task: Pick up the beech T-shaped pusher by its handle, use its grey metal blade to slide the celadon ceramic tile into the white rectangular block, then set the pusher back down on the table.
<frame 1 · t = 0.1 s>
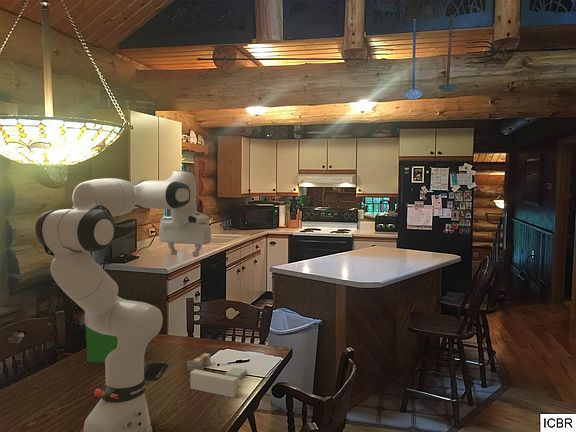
hand: (184, 255, 173), 48 cm above the table, tool pointing down, fingers open, 8 cm apart
tile: (236, 376, 187), on the table
pusher: (197, 369, 193), on the table
white rectangular block: (220, 386, 177), on the table
phone: (152, 373, 190), on the table
hardback book: (111, 359, 203), on the table
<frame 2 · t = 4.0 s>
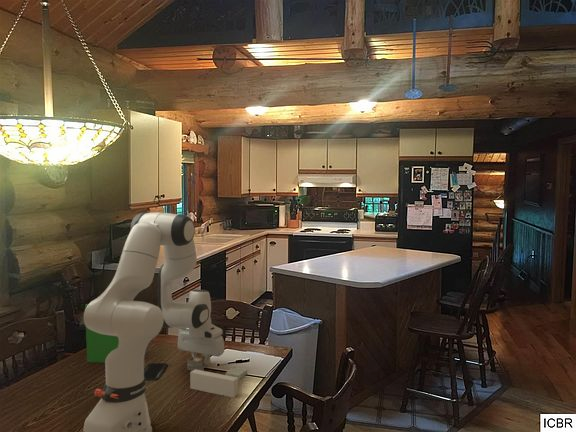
hand: (200, 363, 194), 2 cm above the table, tool pointing down, fingers closed on pusher, 3 cm apart
pusher: (197, 369, 193), on the table, touching gripper
everything else where it was.
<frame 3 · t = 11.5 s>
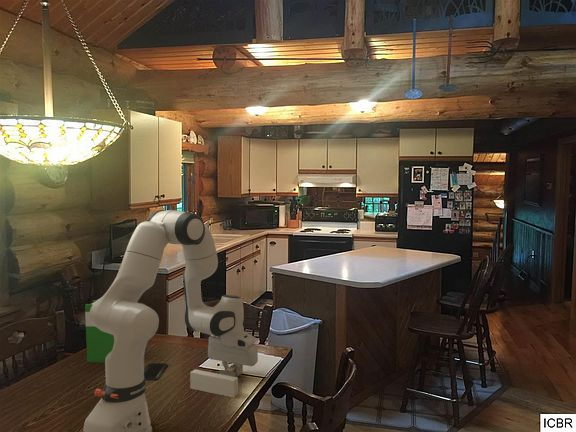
hand: (232, 373, 184), 2 cm above the table, tool pointing down, fingers closed on pusher, 3 cm apart
tile: (223, 385, 178), on the table
pusher: (230, 379, 183), on the table, touching gripper
everything else where it was.
when the fingers open (2 cm above the table, at t = 17.3 s): pusher stays where it is, on the table.
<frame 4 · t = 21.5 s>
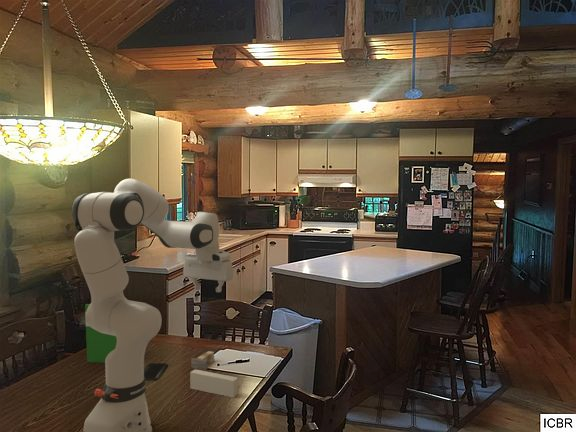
hand: (207, 290, 183), 33 cm above the table, tool pointing down, fingers open, 8 cm apart
pusher: (201, 366, 195), on the table
everything else where it was.
at the end: tile 0.1 cm from the target spot on the white rectangular block, point -0.5 cm above the white rectangular block's base; the gripper is holding nothing; pusher touching table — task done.
